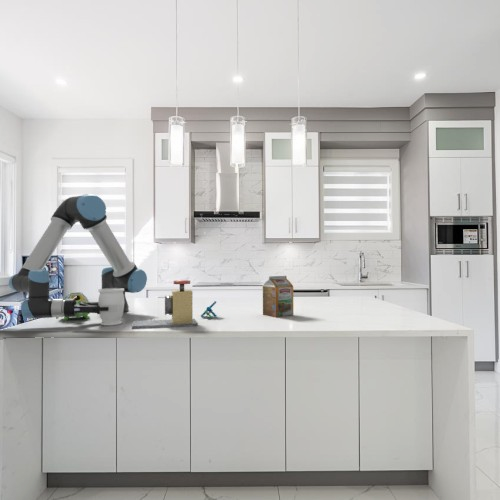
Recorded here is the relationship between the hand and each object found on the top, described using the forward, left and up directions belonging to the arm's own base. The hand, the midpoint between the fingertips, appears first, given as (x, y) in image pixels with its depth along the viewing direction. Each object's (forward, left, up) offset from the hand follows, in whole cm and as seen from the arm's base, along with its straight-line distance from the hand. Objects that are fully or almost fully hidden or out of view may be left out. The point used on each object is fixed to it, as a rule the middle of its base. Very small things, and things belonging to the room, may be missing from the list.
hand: (118, 306), depth 166 cm
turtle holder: (-19, -20, -8) cm, 29 cm away
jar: (0, -3, -8) cm, 8 cm away
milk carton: (-6, +73, -8) cm, 74 cm away
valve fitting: (+7, +20, -8) cm, 22 cm away
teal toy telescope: (-9, +40, -8) cm, 41 cm away
